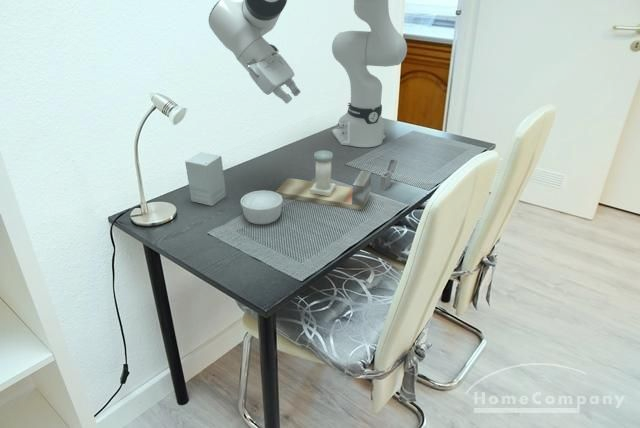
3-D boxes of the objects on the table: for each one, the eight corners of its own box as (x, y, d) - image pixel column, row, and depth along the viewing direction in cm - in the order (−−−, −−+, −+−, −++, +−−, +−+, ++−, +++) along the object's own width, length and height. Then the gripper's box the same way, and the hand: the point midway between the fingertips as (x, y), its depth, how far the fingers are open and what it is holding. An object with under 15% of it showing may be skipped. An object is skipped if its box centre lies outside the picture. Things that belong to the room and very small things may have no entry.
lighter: (384, 190, 136) (386, 166, 132) (379, 189, 137) (381, 164, 133) (395, 182, 141) (397, 158, 137) (390, 180, 142) (392, 157, 138)
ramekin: (238, 210, 125) (236, 193, 122) (276, 203, 129) (275, 187, 126) (247, 230, 116) (245, 212, 113) (288, 222, 120) (288, 205, 117)
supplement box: (226, 195, 132) (222, 155, 126) (211, 206, 127) (206, 165, 120) (206, 190, 135) (201, 151, 129) (190, 201, 129) (184, 160, 123)
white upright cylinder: (310, 193, 130) (309, 156, 124) (316, 184, 135) (316, 148, 129) (329, 196, 129) (330, 159, 123) (335, 187, 133) (336, 151, 128)
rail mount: (275, 196, 132) (274, 173, 128) (288, 182, 140) (287, 159, 137) (362, 210, 125) (363, 186, 121) (370, 194, 133) (371, 171, 130)
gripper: (253, 53, 108) (292, 97, 110) (276, 45, 126) (310, 83, 129) (236, 71, 110) (275, 114, 113) (262, 61, 128) (295, 98, 131)
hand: (294, 97), depth 121 cm, fingers open, 8 cm apart
